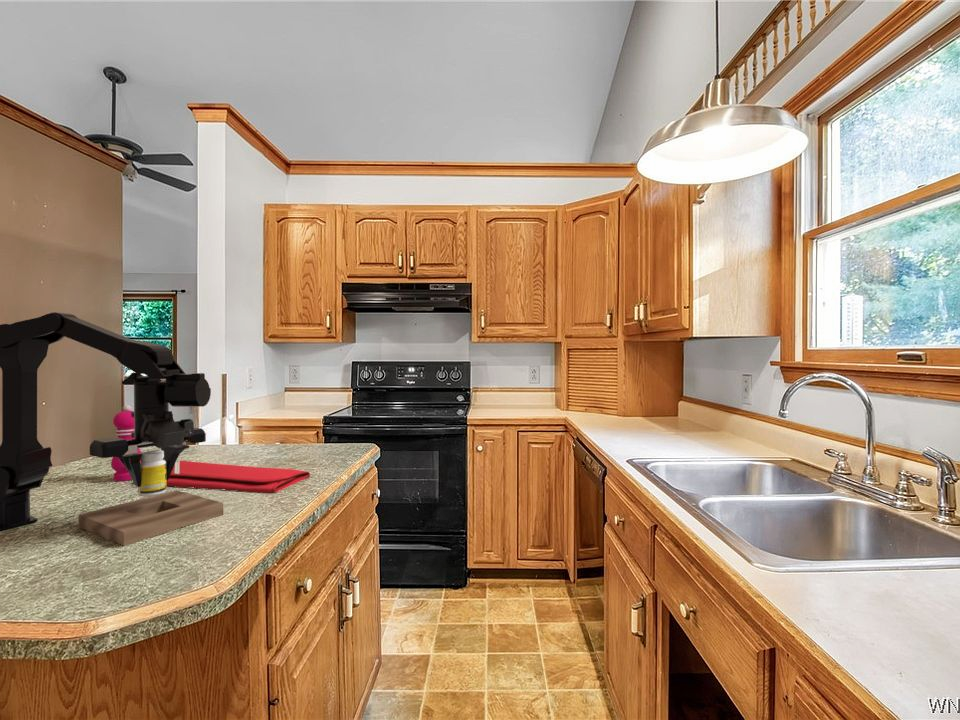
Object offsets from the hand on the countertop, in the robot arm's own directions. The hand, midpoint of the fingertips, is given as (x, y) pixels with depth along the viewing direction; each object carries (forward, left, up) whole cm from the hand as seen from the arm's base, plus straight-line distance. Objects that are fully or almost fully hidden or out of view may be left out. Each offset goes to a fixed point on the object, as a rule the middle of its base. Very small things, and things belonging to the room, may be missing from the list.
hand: (152, 483), depth 94 cm
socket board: (0, 0, -8) cm, 8 cm away
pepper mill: (-41, +13, -8) cm, 44 cm away
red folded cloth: (-16, +25, -8) cm, 31 cm away
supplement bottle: (0, 0, -2) cm, 2 cm away
